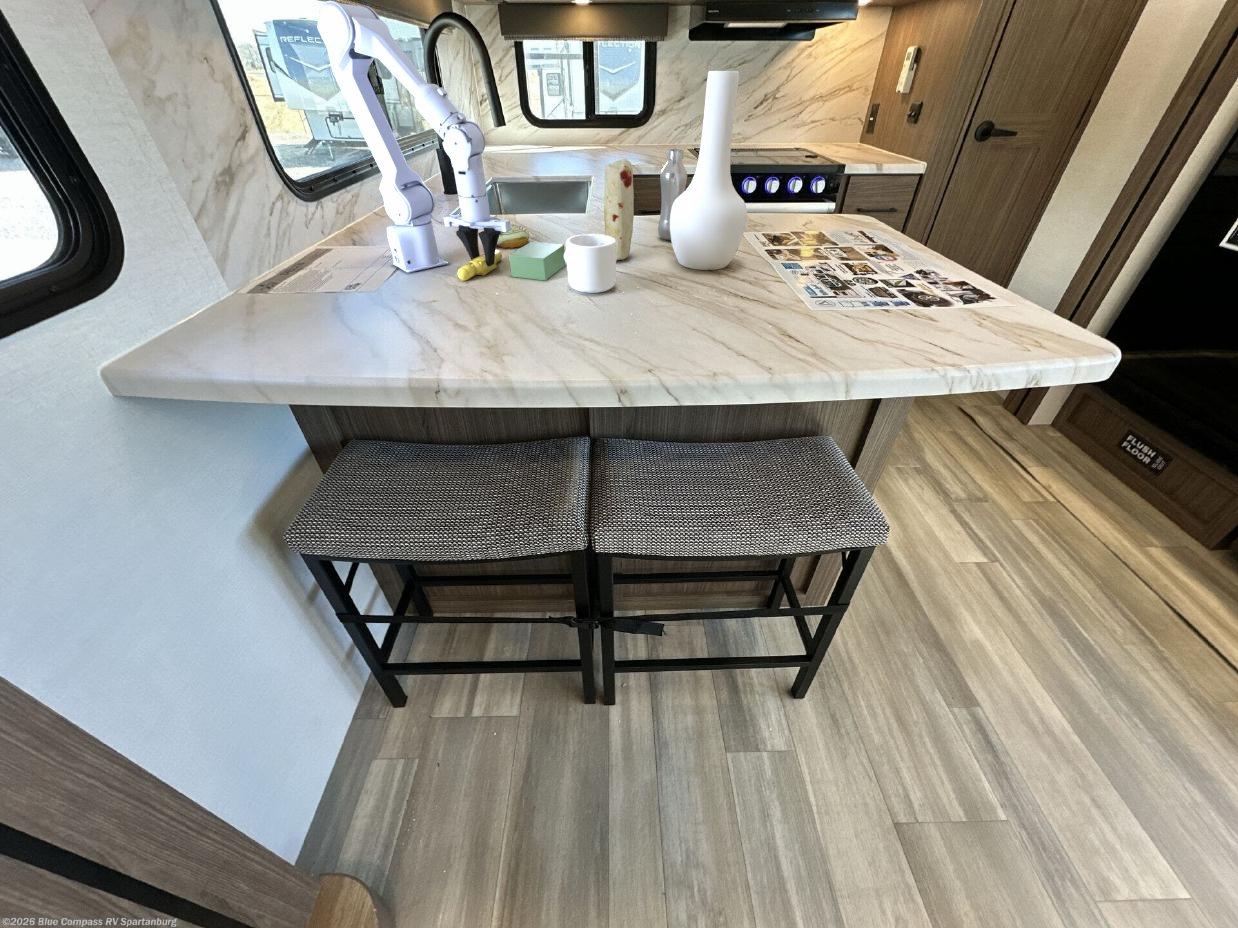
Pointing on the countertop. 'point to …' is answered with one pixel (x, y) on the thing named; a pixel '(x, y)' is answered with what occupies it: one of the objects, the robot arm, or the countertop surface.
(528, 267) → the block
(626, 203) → the food model
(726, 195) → the vase
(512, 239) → the decorated donut
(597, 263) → the mug
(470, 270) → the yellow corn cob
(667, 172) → the plastic bottle
